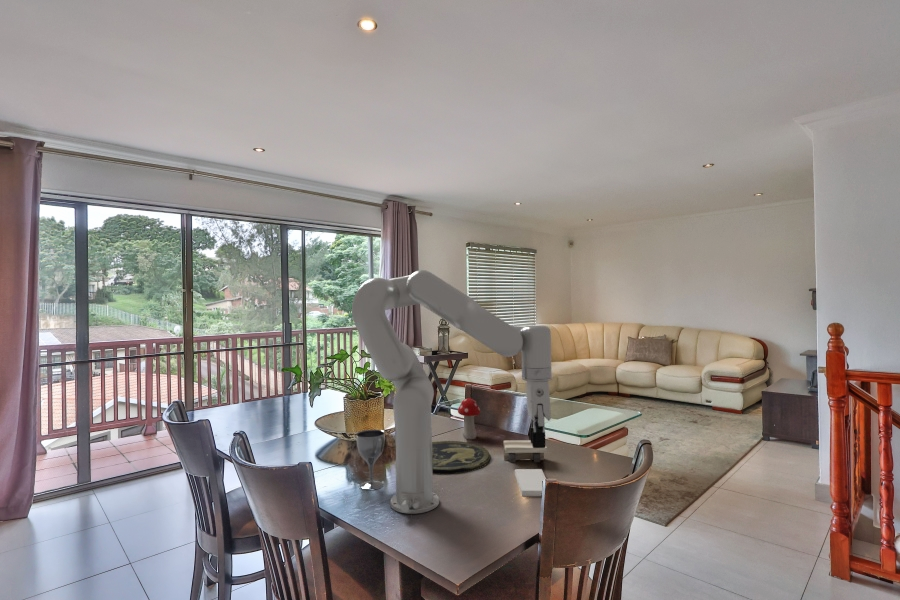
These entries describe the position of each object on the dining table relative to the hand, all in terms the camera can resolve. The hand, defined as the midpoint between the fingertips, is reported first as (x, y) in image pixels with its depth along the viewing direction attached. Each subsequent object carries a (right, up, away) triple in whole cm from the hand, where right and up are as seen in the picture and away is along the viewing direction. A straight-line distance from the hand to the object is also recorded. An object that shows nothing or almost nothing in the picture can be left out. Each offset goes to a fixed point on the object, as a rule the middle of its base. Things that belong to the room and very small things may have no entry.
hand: (537, 444), depth 119 cm
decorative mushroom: (-15, -16, +61) cm, 65 cm away
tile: (+1, -16, +13) cm, 20 cm away
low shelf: (+2, -15, +31) cm, 35 cm away
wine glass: (-45, -16, +14) cm, 50 cm away
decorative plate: (-24, -16, +37) cm, 47 cm away
